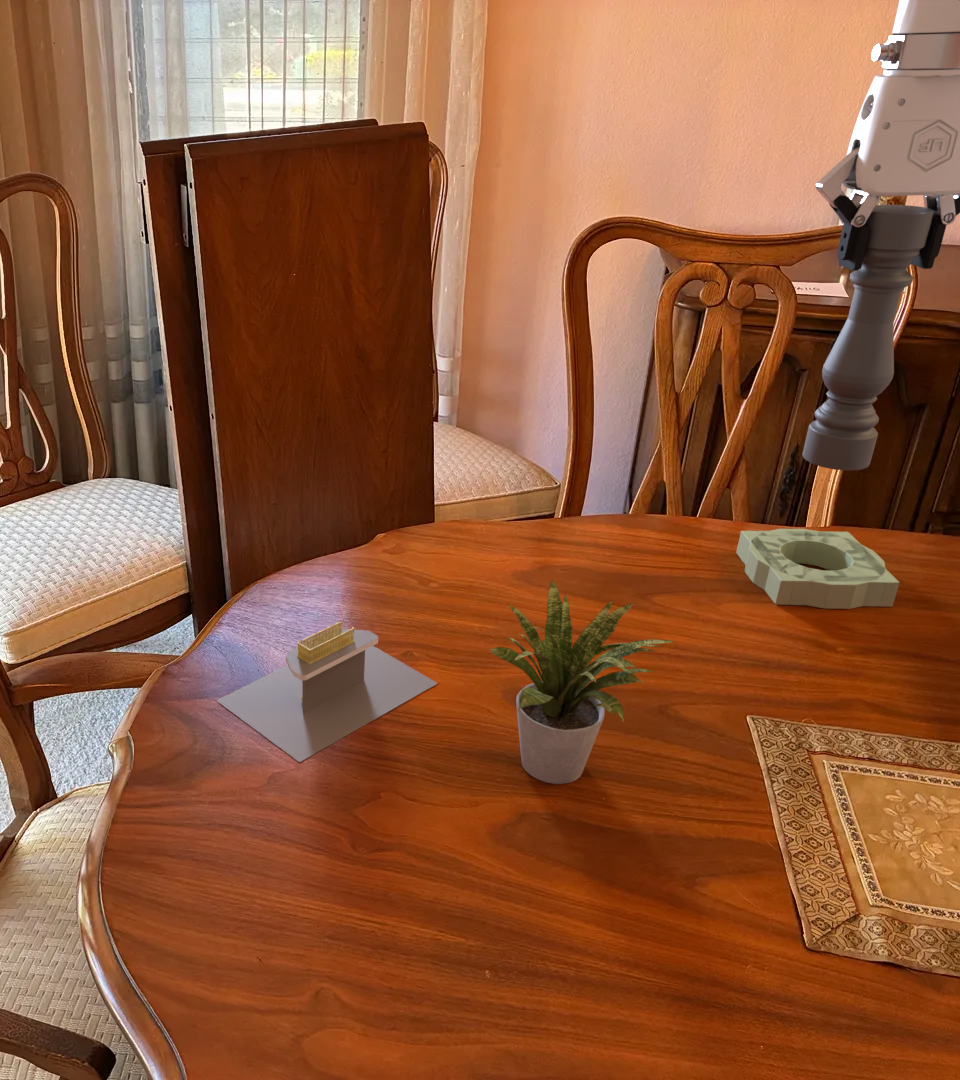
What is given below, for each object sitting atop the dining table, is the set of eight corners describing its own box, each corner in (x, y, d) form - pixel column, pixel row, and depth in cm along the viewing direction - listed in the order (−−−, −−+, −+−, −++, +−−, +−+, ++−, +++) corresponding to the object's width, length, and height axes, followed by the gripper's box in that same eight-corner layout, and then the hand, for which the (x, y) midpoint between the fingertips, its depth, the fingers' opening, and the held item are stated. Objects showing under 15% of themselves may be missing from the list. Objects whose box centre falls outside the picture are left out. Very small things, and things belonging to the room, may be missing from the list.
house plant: (595, 860, 76) (627, 683, 68) (436, 783, 84) (449, 618, 76) (664, 764, 85) (699, 599, 78) (515, 703, 93) (534, 549, 86)
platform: (216, 700, 95) (213, 642, 92) (351, 633, 105) (352, 579, 102) (299, 762, 87) (299, 701, 84) (438, 683, 97) (442, 625, 94)
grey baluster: (870, 453, 105) (936, 205, 94) (869, 474, 100) (939, 216, 89) (803, 444, 108) (860, 203, 96) (800, 464, 103) (859, 213, 92)
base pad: (845, 551, 118) (851, 529, 116) (901, 610, 106) (909, 585, 105) (728, 550, 119) (733, 527, 118) (771, 607, 107) (777, 583, 106)
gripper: (854, 61, 84) (807, 277, 92) (1070, 53, 83) (1003, 273, 91) (814, 59, 91) (774, 261, 99) (1013, 51, 90) (956, 256, 98)
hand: (884, 264), depth 95 cm, fingers closed on grey baluster, 5 cm apart
